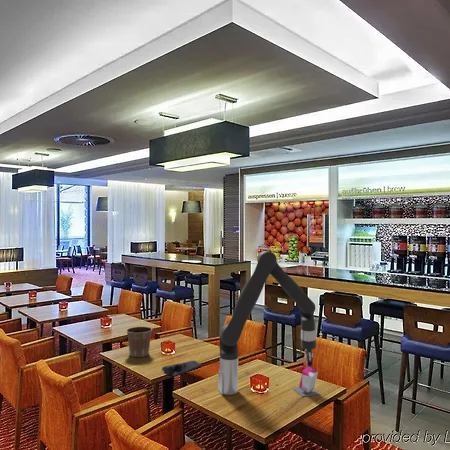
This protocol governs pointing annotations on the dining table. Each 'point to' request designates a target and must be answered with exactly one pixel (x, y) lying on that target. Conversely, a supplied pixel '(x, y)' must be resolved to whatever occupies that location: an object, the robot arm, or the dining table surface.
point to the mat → (305, 392)
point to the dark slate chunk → (181, 368)
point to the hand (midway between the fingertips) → (309, 372)
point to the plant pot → (139, 341)
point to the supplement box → (308, 379)
